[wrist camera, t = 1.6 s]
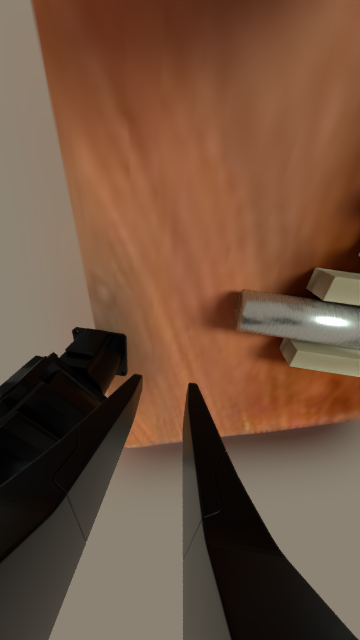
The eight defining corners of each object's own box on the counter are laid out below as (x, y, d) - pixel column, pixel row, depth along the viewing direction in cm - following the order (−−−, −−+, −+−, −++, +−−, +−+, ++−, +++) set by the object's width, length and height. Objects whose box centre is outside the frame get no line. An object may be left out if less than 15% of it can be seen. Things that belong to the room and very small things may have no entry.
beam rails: (341, 357, 22) (360, 377, 19) (279, 348, 22) (289, 366, 19) (394, 278, 17) (428, 289, 15) (315, 267, 18) (335, 276, 15)
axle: (384, 304, 19) (428, 321, 15) (362, 339, 20) (398, 362, 17) (241, 284, 19) (250, 296, 16) (232, 320, 21) (238, 338, 17)
